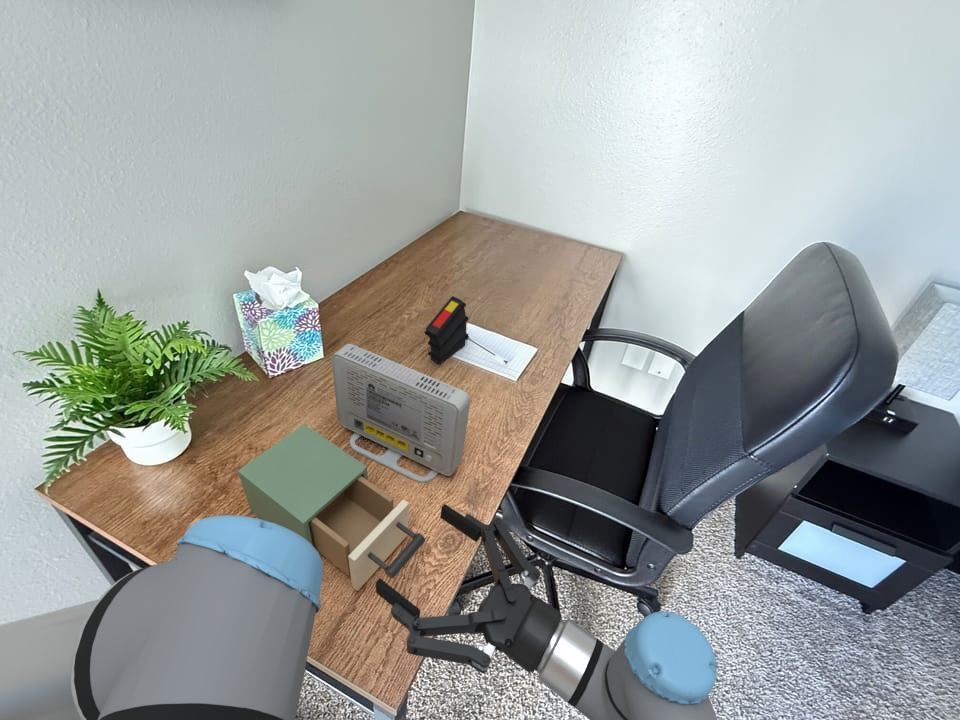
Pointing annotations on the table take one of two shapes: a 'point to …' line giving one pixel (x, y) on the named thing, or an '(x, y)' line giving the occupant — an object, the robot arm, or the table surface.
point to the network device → (400, 412)
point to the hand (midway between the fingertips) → (412, 545)
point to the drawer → (364, 532)
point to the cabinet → (298, 479)
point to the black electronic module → (447, 330)
